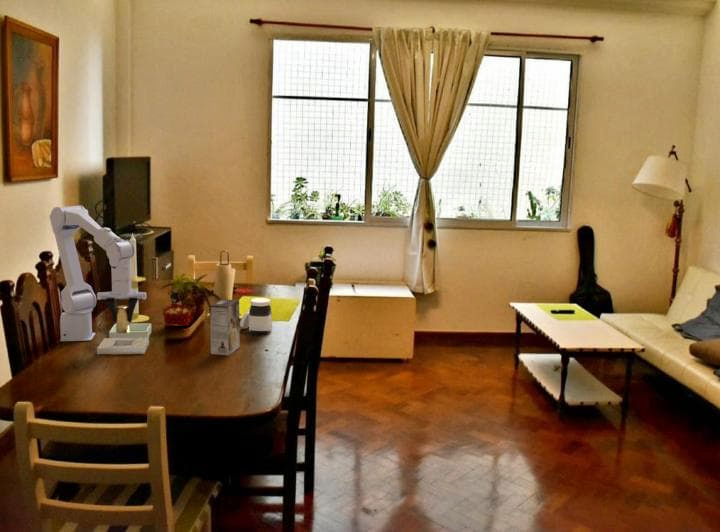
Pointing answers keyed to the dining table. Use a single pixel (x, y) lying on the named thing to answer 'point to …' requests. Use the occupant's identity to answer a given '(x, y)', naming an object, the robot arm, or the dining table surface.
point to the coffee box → (224, 326)
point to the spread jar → (258, 317)
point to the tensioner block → (123, 346)
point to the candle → (136, 284)
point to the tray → (133, 331)
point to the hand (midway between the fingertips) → (122, 321)
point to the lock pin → (122, 319)
